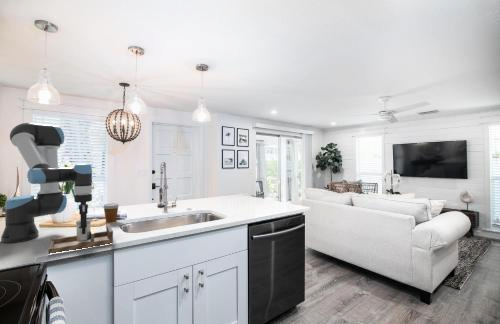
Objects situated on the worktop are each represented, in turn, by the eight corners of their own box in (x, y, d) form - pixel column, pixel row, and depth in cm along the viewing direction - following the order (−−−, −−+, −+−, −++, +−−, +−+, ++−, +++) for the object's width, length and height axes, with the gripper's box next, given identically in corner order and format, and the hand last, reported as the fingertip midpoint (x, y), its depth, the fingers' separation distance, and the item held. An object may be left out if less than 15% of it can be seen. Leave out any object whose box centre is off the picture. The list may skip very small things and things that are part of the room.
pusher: (91, 244, 123) (91, 233, 123) (90, 237, 134) (90, 227, 134) (93, 244, 123) (93, 233, 123) (92, 236, 134) (92, 226, 134)
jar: (91, 240, 126) (91, 221, 125) (76, 242, 122) (75, 223, 122) (90, 236, 131) (90, 218, 131) (76, 239, 127) (76, 220, 127)
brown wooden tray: (48, 255, 112) (48, 240, 112) (51, 244, 126) (51, 231, 125) (112, 244, 127) (112, 231, 127) (109, 235, 141) (109, 223, 140)
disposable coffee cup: (101, 223, 164) (101, 206, 164) (105, 220, 174) (105, 203, 173) (116, 223, 167) (116, 205, 167) (120, 219, 176) (120, 203, 176)
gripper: (92, 195, 120) (93, 242, 121) (91, 191, 136) (91, 232, 136) (74, 197, 116) (74, 245, 117) (74, 192, 131) (74, 234, 132)
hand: (83, 238), depth 126 cm, fingers closed on jar, 6 cm apart
